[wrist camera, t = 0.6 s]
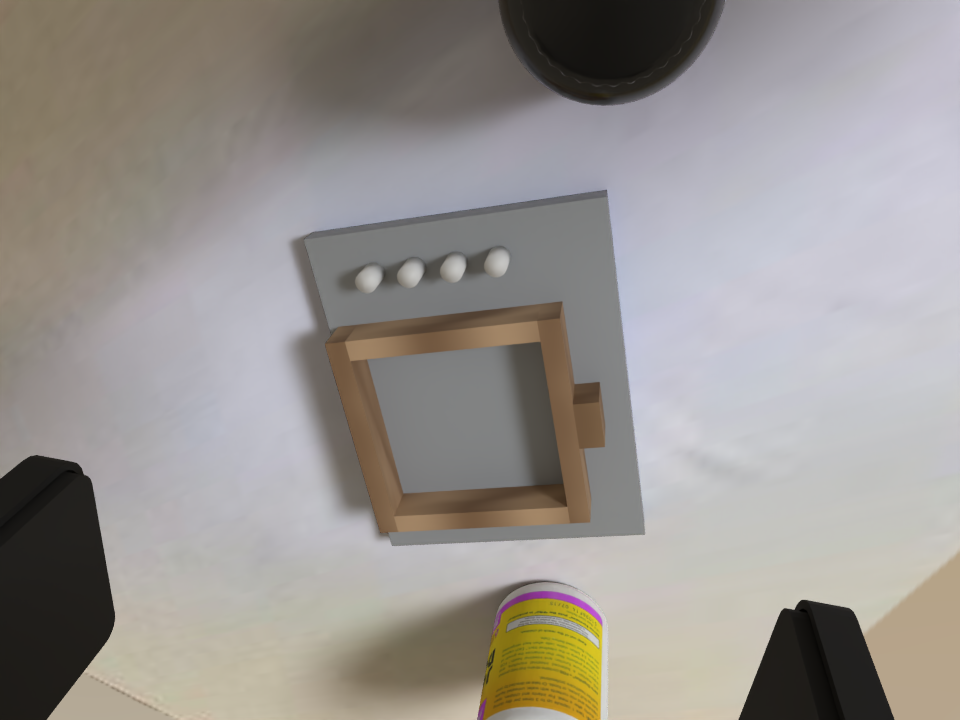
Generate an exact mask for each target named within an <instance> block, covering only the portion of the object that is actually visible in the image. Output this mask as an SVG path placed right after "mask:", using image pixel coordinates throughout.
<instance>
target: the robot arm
mask: <svg viewBox="0 0 960 720" xmlns="http://www.w3.org/2000/svg"><path fill="white" fill-rule="evenodd" d="M114 622H115V612H114V606H113V600H112V594H111V589H110V583H109V577H108V572H107V566H106V560H105V554H104V549H103V543H102V537H101V532H100V526H99V520H98V514H97V509H96V503H95V497H94V492H93V486H92V482H91V479H90V478H89V477H88V476H86V475H84V474H83V471H82V468H81V467H80V466H79V465H78V464H77V463H74V462H70V461H65V460H60V459H54V458H49V457H44V456H38V455H35V456H30V457H28V458H27V459H25V460H23V461H22V462H21V463H19V464H18V465H17V466H16V467H15V468H13V469H12V470H11V471H10V472H8V473H7V474H6V475H5V476H3V477H2V478H1V479H0V720H47V718H48V717H49V716H50V714H51V713H52V712H53V710H54V709H55V708H56V707H57V705H58V704H59V703H60V701H61V700H62V699H63V698H64V696H65V695H66V694H67V692H68V691H69V690H70V689H71V687H72V686H73V685H74V683H75V682H76V681H77V679H78V678H79V677H80V676H81V674H82V673H83V672H84V670H85V669H86V668H87V667H88V665H89V664H90V663H91V661H92V660H93V659H94V657H95V656H96V655H97V654H98V652H99V651H100V650H101V648H102V647H103V646H104V645H105V643H106V642H107V640H108V639H109V637H110V635H111V632H112V630H113V626H114ZM739 720H894V717H893V715H892V712H891V709H890V706H889V704H888V701H887V698H886V696H885V693H884V690H883V688H882V685H881V682H880V679H879V677H878V674H877V671H876V669H875V666H874V663H873V661H872V658H871V655H870V652H869V650H868V647H867V644H866V642H865V639H864V636H863V634H862V631H861V628H860V625H859V623H858V620H857V618H856V616H855V614H854V612H853V611H852V610H851V609H849V608H845V607H840V606H835V605H829V604H824V603H819V602H813V601H808V600H801V601H800V602H799V603H798V604H797V606H796V608H795V610H792V609H787V608H784V609H783V610H782V611H781V613H780V615H779V617H778V620H777V622H776V625H775V627H774V630H773V632H772V635H771V638H770V640H769V643H768V645H767V648H766V650H765V653H764V656H763V658H762V661H761V663H760V666H759V669H758V671H757V674H756V676H755V679H754V681H753V684H752V687H751V689H750V692H749V694H748V697H747V699H746V702H745V705H744V707H743V710H742V712H741V715H740V717H739Z"/></svg>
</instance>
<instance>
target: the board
mask: <svg viewBox="0 0 960 720" xmlns="http://www.w3.org/2000/svg"><path fill="white" fill-rule="evenodd" d="M304 243H305V246H306V250H307V253H308V257H309V260H310V264H311V267H312V270H313V274H314V277H315V281H316V284H317V288H318V291H319V295H320V298H321V302H322V305H323V309H324V312H325V316H326V319H327V322H328V326H329V329H330V333H331V336H332V334H333V333H334V332H335V331H336V329H337V328H338V327H341V326H350V325H359V324H368V323H376V322H385V321H394V320H403V319H412V318H420V317H429V316H438V315H447V314H456V313H464V312H473V311H482V310H491V309H500V308H508V307H517V306H526V305H535V304H544V303H552V302H561V301H563V308H564V315H565V322H566V329H567V335H568V342H569V349H570V356H571V363H572V370H573V376H574V383H575V384H582V383H593V382H600V388H601V395H602V403H603V411H604V418H605V447H600V448H586V449H584V452H585V458H586V465H587V472H588V479H589V486H590V493H591V519H590V523H571V524H551V525H531V526H510V527H490V528H470V529H449V530H429V531H409V532H388V534H389V537H390V541H391V544H392V546H403V545H425V544H447V543H469V542H491V541H514V540H536V539H558V538H580V537H602V536H625V535H645V527H644V515H643V506H642V497H641V488H640V479H639V471H638V462H637V453H636V444H635V435H634V426H633V418H632V409H631V400H630V391H629V382H628V373H627V364H626V356H625V347H624V338H623V329H622V320H621V311H620V302H619V294H618V285H617V276H616V267H615V258H614V249H613V240H612V232H611V223H610V214H609V205H608V196H607V190H604V191H597V192H590V193H583V194H576V195H569V196H562V197H555V198H548V199H541V200H534V201H527V202H520V203H513V204H506V205H500V206H493V207H486V208H479V209H472V210H465V211H458V212H451V213H444V214H437V215H430V216H423V217H416V218H409V219H402V220H395V221H388V222H381V223H375V224H368V225H361V226H354V227H347V228H340V229H333V230H326V231H319V232H313V233H311V234H310V235H309V236H308V237H307V238H305V239H304ZM367 361H368V364H369V368H370V372H371V376H372V379H373V383H374V387H375V390H376V394H377V398H378V401H379V405H380V409H381V412H382V416H383V420H384V424H385V427H386V431H387V435H388V438H389V442H390V446H391V449H392V453H393V457H394V460H395V464H396V468H397V472H398V475H399V479H400V483H401V486H402V490H403V493H420V492H436V491H453V490H469V489H486V488H502V487H519V486H535V485H551V484H564V483H563V477H562V471H561V464H560V458H559V452H558V446H557V440H556V434H555V428H554V422H553V415H552V409H551V403H550V397H549V391H548V385H547V379H546V373H545V366H544V360H543V354H542V348H541V342H532V343H522V344H512V345H502V346H493V347H483V348H473V349H463V350H454V351H444V352H434V353H424V354H415V355H405V356H395V357H385V358H376V359H367Z"/></svg>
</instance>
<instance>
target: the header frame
mask: <svg viewBox="0 0 960 720" xmlns="http://www.w3.org/2000/svg"><path fill="white" fill-rule="evenodd" d="M532 342H541V348H542V354H543V360H544V366H545V373H546V379H547V385H548V391H549V397H550V403H551V409H552V415H553V422H554V428H555V434H556V440H557V446H558V452H559V458H560V464H561V471H562V477H563V483H564V484H551V485H535V486H519V487H502V488H486V489H469V490H453V491H436V492H420V493H403V490H402V486H401V483H400V479H399V475H398V472H397V468H396V464H395V460H394V457H393V453H392V449H391V446H390V442H389V438H388V435H387V431H386V427H385V424H384V420H383V416H382V412H381V409H380V405H379V401H378V398H377V394H376V390H375V387H374V383H373V379H372V376H371V372H370V368H369V364H368V361H367V359H376V358H385V357H395V356H405V355H415V354H424V353H434V352H444V351H454V350H463V349H473V348H483V347H493V346H502V345H512V344H522V343H532ZM325 346H326V350H327V353H328V357H329V360H330V363H331V367H332V370H333V374H334V377H335V380H336V384H337V387H338V391H339V394H340V397H341V401H342V404H343V408H344V411H345V414H346V418H347V421H348V425H349V428H350V431H351V435H352V438H353V442H354V445H355V449H356V452H357V455H358V459H359V462H360V466H361V469H362V472H363V476H364V479H365V483H366V486H367V489H368V493H369V496H370V500H371V503H372V506H373V510H374V513H375V517H376V520H377V523H378V527H379V530H380V533H388V532H409V531H429V530H449V529H470V528H490V527H510V526H531V525H551V524H571V523H590V519H591V493H590V486H589V479H588V472H587V465H586V458H585V452H584V449H586V448H600V447H605V418H604V411H603V403H602V395H601V388H600V382H593V383H582V384H575V383H574V376H573V370H572V363H571V356H570V349H569V342H568V335H567V329H566V322H565V315H564V308H563V301H561V302H552V303H544V304H535V305H526V306H517V307H508V308H500V309H491V310H482V311H473V312H464V313H456V314H447V315H438V316H429V317H420V318H412V319H403V320H394V321H385V322H376V323H368V324H359V325H350V326H341V327H338V328H337V329H336V331H335V332H334V333H333V334H332V336H331V337H330V338H329V339H328V341H327V342H326V343H325Z"/></svg>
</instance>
